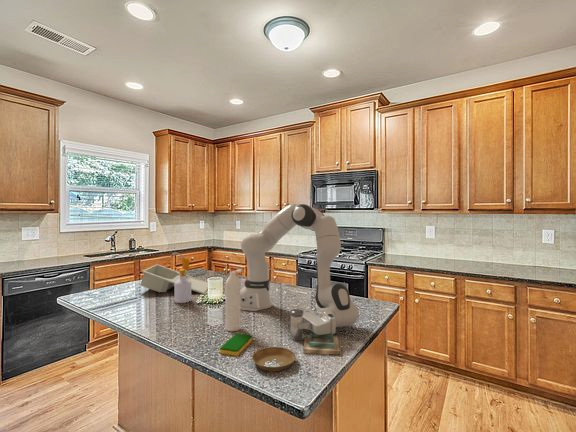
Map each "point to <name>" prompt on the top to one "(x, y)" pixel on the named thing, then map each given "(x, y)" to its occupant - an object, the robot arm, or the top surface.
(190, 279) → the kitchen sink
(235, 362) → the top surface
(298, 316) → the salt shaker
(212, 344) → the top surface
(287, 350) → the plant saucer
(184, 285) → the soap bottle
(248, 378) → the top surface
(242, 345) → the dish sponge
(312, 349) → the post base
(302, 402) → the top surface
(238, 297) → the white spray bottle
